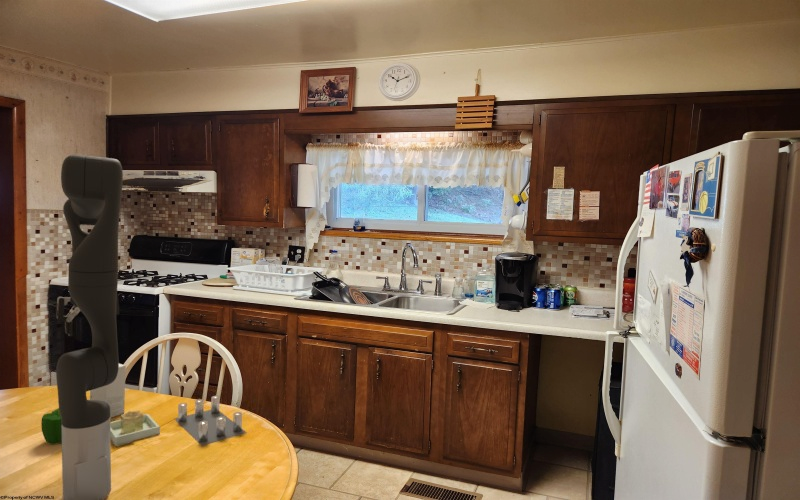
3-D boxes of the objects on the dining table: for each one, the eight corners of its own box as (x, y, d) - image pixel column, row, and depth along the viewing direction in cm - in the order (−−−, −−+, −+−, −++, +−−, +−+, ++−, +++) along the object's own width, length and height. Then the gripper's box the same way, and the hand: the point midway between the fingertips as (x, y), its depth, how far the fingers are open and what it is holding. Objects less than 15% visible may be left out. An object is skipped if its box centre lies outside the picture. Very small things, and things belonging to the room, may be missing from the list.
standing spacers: (243, 430, 146) (243, 414, 146) (200, 442, 138) (200, 425, 137) (217, 410, 160) (217, 395, 159) (177, 420, 151) (177, 404, 151)
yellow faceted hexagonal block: (144, 433, 142) (144, 415, 142) (124, 437, 139) (124, 420, 139) (138, 426, 147) (138, 409, 146) (119, 430, 143) (119, 413, 143)
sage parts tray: (159, 435, 143) (159, 426, 142) (115, 446, 135) (115, 437, 135) (147, 421, 151) (147, 413, 151) (105, 431, 143) (105, 423, 143)
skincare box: (89, 414, 154) (88, 364, 153) (110, 407, 160) (109, 359, 159) (105, 420, 151) (105, 369, 149) (126, 412, 156) (126, 364, 155)
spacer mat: (246, 434, 145) (246, 432, 145) (201, 447, 136) (201, 445, 136) (216, 409, 161) (216, 408, 161) (173, 420, 152) (173, 418, 152)
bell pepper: (60, 449, 132) (59, 413, 131) (34, 445, 134) (33, 409, 133) (86, 435, 140) (85, 401, 140) (61, 432, 142) (60, 397, 141)
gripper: (58, 277, 126) (59, 340, 127) (121, 273, 136) (122, 332, 137) (53, 273, 132) (54, 334, 133) (114, 270, 141) (115, 327, 143)
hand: (89, 333), depth 135 cm, fingers open, 8 cm apart
